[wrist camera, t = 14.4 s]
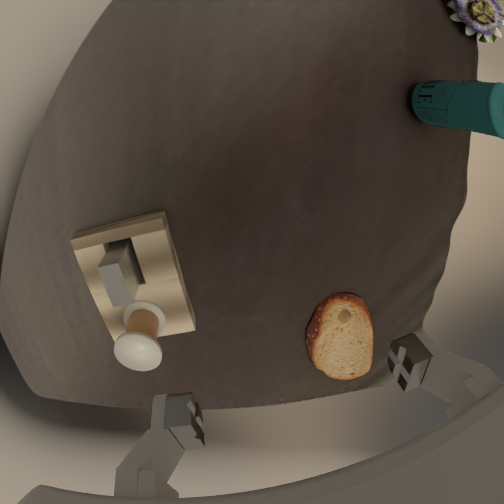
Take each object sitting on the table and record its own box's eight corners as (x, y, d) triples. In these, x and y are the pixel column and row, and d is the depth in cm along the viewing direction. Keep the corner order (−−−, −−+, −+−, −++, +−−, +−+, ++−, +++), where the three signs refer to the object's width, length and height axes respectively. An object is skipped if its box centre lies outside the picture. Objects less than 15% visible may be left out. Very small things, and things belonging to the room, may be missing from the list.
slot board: (78, 231, 33) (70, 240, 31) (165, 209, 34) (161, 217, 32) (119, 329, 40) (115, 342, 38) (195, 317, 41) (195, 330, 39)
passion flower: (432, 22, 31) (438, -16, 21) (456, -5, 27) (464, -41, 16) (483, 63, 30) (503, 33, 19) (505, 33, 25) (524, 3, 14)
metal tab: (115, 237, 35) (97, 267, 28) (133, 233, 35) (118, 263, 28) (126, 272, 37) (113, 307, 30) (144, 268, 37) (133, 304, 30)
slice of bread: (356, 375, 54) (364, 388, 51) (278, 369, 49) (283, 385, 46) (405, 304, 48) (416, 316, 45) (326, 285, 43) (335, 299, 40)
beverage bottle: (435, 128, 35) (547, 156, 17) (401, 120, 34) (523, 143, 16) (436, 86, 32) (549, 97, 14) (403, 75, 31) (524, 74, 13)
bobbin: (118, 303, 35) (106, 339, 29) (158, 296, 36) (151, 332, 29) (133, 336, 38) (125, 373, 31) (171, 330, 38) (168, 368, 32)
